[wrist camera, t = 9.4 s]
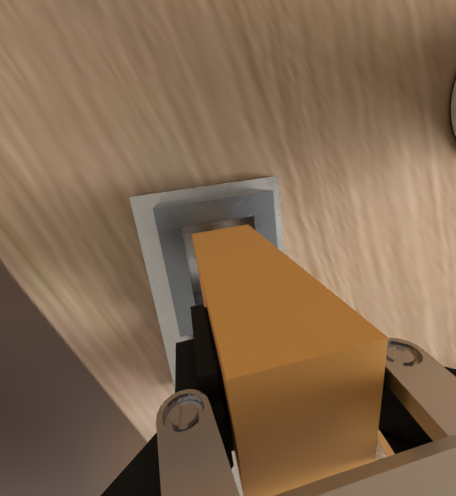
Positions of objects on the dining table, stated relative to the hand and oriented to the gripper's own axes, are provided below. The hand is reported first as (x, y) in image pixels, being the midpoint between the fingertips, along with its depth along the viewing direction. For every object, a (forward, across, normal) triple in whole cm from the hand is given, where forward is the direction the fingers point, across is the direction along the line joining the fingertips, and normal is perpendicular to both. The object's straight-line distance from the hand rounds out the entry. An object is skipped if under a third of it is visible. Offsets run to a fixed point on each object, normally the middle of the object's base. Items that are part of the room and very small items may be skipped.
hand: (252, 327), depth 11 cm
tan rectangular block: (+6, 0, -1) cm, 6 cm away
